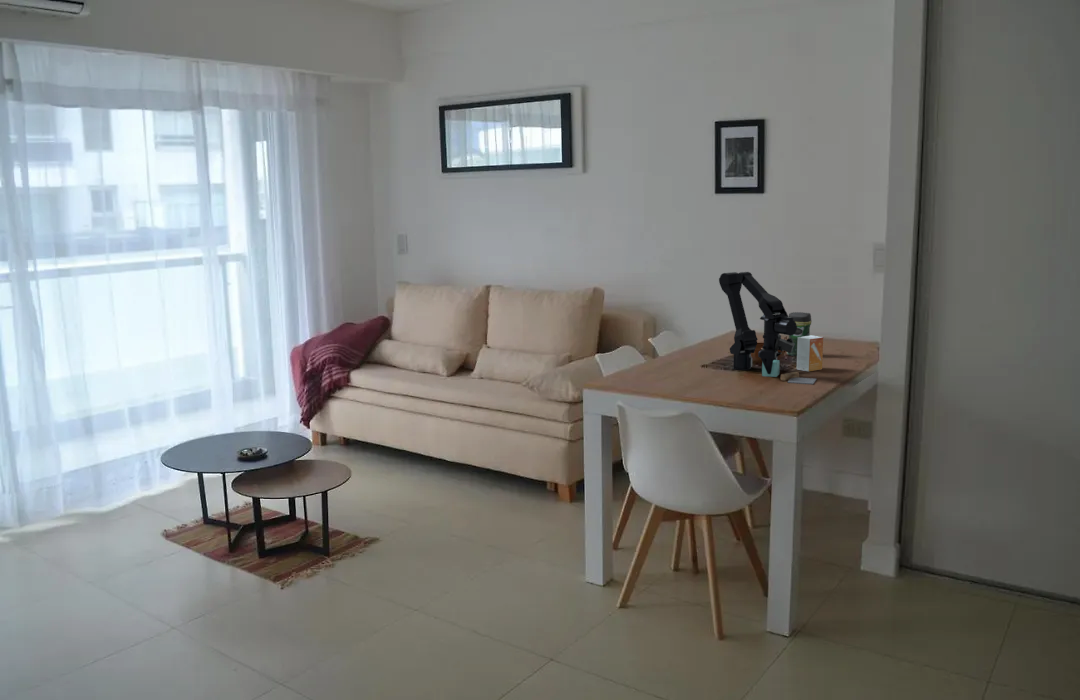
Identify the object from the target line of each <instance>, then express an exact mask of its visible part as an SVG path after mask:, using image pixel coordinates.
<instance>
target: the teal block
mask: <svg viewBox="0 0 1080 700" xmlns="http://www.w3.org/2000/svg"><path fill="white" fill-rule="evenodd" d="M780 361H781V360H779V359H777V360H774V361H773V365H772V370H771V374H768V373H767V371H766V369H765V366H764V364H763V362H762V361H761V362H762V363H761V377H768V378H769V377H772V378H777V377H778V376H779V375H780V363H781V362H780Z"/></svg>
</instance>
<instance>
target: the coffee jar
mask: <svg viewBox="0 0 1080 700" xmlns="http://www.w3.org/2000/svg"><path fill="white" fill-rule="evenodd" d="M788 317H793V321H795V322H796V325H797V330H796V333H795V334H794V335H791V336H790V335H788V339H789V338H791V339H793V343H795V345H794V348H793V350H792V352H791V353H788V352H786V354H787V355H788V356H789V357H790V356H791V357H797V341H798V337H803V336H810V335H811V332H810V328H811V325H812V315H811V313H810V312H801V311H800V312H798V311H797V312H796V311H795V312H794V311H793V312H790V313H789V314H788Z"/></svg>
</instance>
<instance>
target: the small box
mask: <svg viewBox="0 0 1080 700" xmlns="http://www.w3.org/2000/svg"><path fill="white" fill-rule="evenodd" d="M823 353H824V336H817V335H811V334H810V336H803V337H798V341H797V356H796V370H798V371H804V372H813V371H819V370H820V371H821V370H822V369H823V357H824V356H823Z"/></svg>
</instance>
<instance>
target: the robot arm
mask: <svg viewBox="0 0 1080 700" xmlns="http://www.w3.org/2000/svg"><path fill="white" fill-rule="evenodd" d="M718 282H719V283H718V284H719V285H720V288H721V291H722V292H723V293H724V294H725V295H726V296H727V300H728V303H729V304H728V305H729V308H730V312H731V314H732V319H733V323H734V327H735V333H734V336H733V340H734V343H732V345H731V346H730V347H729V353H730V354H731V355H733V365H732V366H733V367H732V368H731V369H732V370H738V371H739V370H741V371H749V370H750V369H752V368H751V367H753V357H752V354H754V353H755V351H756V348H757V345H758V337H757V333H756V330H755V329H751V328H750V327H749V324H748V320H747V319H748V318H747V317H746V312H745V308H744V303H743V300H742V296H741V289H742V287H744V288H745V289H746V290H747V291H748V293H750V294H751V296H753V298H754V299H755V300H756V301H757V302H758V308H759V309H760V311H761V312H762V314H763V315H762V316H761V317H760V318H759V320H762V321H763V335H762V339H763V345H762V349H760V350H759V351H758V352H757V353H758V354H757V357H758V358H759V359H760V360H761V362H763V364H764V366H765V369H766V371H767V373H768V374H771V370H772V365H773V361H774V360H778V357H779V356H780V355H782V352H786V353H787V352H788V353H791V352H792V350H793V348H794V345H795V343H793V339H791V338H789V337H788V339H785V338H782V335H785V336H789V335H790V336H791V335H794V334H795V333H796V330H797V325H796V322H795V321H793V317H788V316H789V314H788V313H787V311H786V309H785V307H784V304H783V303H784V302H783V301H782V300H781V299H779V298H778V297H776V295H772V294H770V293H769V292H767V290H766V289H765V288H764V287H763V286H762V285H761V284H760V282H759V281H757V279H756V278H754V276H753V274H752V272H749V271H741V272H737V271H736V272H735V271H733V272H724V273H721V274H720V276H719V278H718ZM742 285H743V286H742Z"/></svg>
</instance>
